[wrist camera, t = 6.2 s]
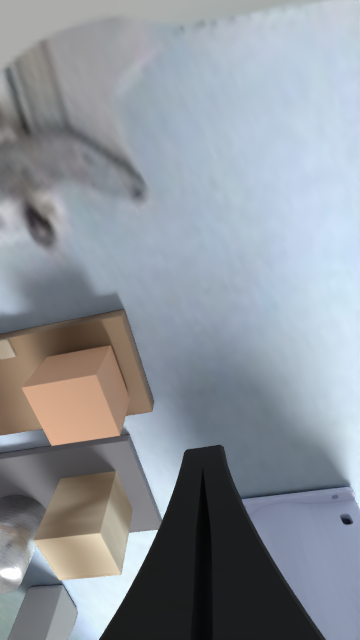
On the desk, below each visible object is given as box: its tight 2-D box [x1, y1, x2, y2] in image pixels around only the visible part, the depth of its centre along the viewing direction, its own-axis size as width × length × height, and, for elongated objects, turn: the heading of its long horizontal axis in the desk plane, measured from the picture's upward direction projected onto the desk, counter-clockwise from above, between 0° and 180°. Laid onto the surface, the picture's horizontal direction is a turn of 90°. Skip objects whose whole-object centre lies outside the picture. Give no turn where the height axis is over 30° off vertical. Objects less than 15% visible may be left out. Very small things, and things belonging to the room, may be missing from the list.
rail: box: [0, 309, 154, 435], centre depth 20 cm, size 19×7×1 cm, turn 103°
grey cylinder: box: [0, 495, 46, 593], centre depth 23 cm, size 4×4×4 cm
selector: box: [22, 345, 130, 446], centre depth 17 cm, size 4×4×3 cm
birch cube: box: [33, 471, 133, 580], centre depth 22 cm, size 4×4×4 cm
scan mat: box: [0, 434, 162, 533], centre depth 25 cm, size 16×10×1 cm, turn 103°
